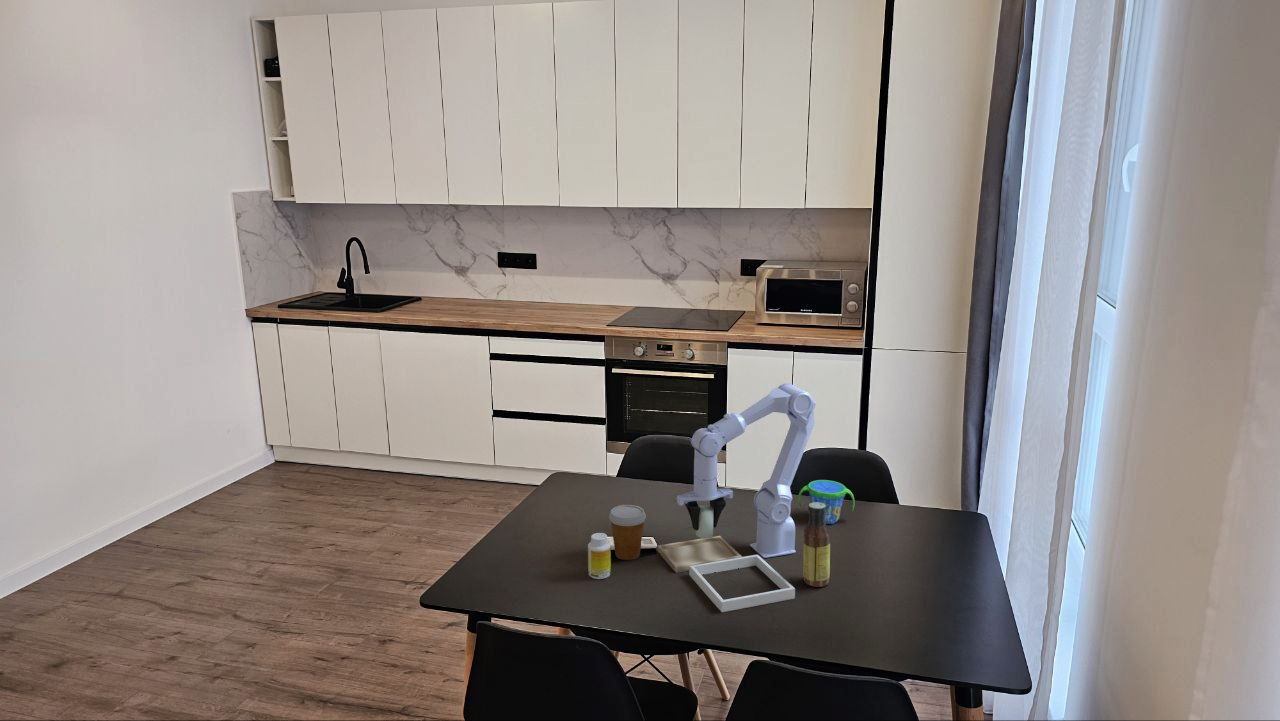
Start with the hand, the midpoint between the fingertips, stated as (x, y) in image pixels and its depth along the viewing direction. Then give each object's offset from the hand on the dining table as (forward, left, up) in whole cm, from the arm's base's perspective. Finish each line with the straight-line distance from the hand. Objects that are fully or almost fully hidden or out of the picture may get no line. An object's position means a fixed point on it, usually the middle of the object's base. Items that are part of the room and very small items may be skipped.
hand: (704, 527), depth 210 cm
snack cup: (-43, -11, -9) cm, 45 cm away
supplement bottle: (+27, -1, -9) cm, 29 cm away
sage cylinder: (0, 0, -2) cm, 2 cm away
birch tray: (0, -2, -9) cm, 9 cm away
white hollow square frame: (-3, +16, -9) cm, 18 cm away
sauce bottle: (-21, +20, -9) cm, 30 cm away
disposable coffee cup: (+17, -9, -9) cm, 22 cm away
